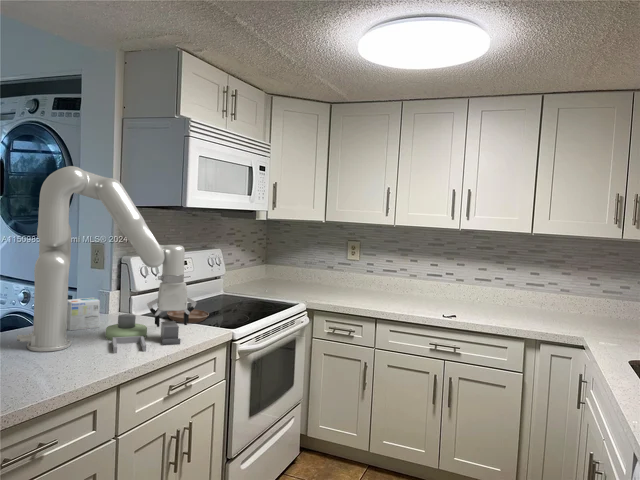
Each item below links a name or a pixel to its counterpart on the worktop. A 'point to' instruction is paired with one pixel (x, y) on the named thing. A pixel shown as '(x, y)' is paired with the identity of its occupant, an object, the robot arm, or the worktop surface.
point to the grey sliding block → (169, 333)
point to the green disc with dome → (126, 332)
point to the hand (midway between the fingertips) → (171, 325)
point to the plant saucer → (194, 316)
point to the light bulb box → (83, 313)
